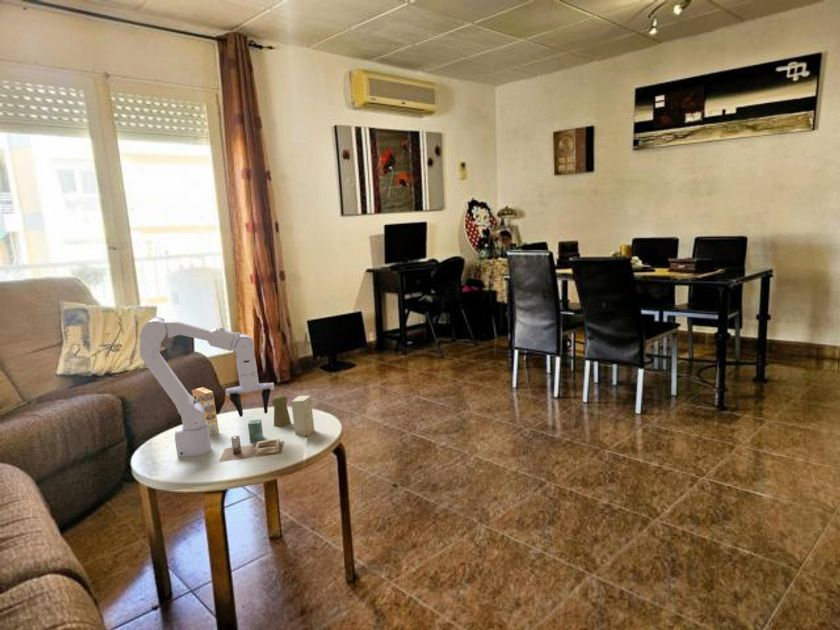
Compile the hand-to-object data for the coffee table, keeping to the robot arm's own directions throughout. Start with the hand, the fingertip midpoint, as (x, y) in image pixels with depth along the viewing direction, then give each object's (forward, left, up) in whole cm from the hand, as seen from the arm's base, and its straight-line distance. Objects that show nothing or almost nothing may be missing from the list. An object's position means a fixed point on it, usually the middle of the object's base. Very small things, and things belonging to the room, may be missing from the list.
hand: (253, 414), depth 172 cm
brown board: (0, -10, -10) cm, 13 cm away
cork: (+7, +12, -10) cm, 17 cm away
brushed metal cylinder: (-5, -10, -9) cm, 14 cm away
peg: (0, 0, -10) cm, 10 cm away
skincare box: (+15, +2, -10) cm, 18 cm away
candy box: (-18, +14, -10) cm, 25 cm away
